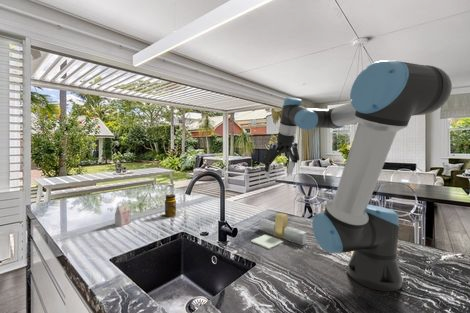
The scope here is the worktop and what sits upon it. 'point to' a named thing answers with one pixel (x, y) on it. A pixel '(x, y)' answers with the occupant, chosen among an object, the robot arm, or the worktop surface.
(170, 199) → the condiment
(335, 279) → the worktop surface
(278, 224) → the brass block
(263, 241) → the sage pad
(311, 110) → the robot arm
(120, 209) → the milk carton
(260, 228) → the rack rail
